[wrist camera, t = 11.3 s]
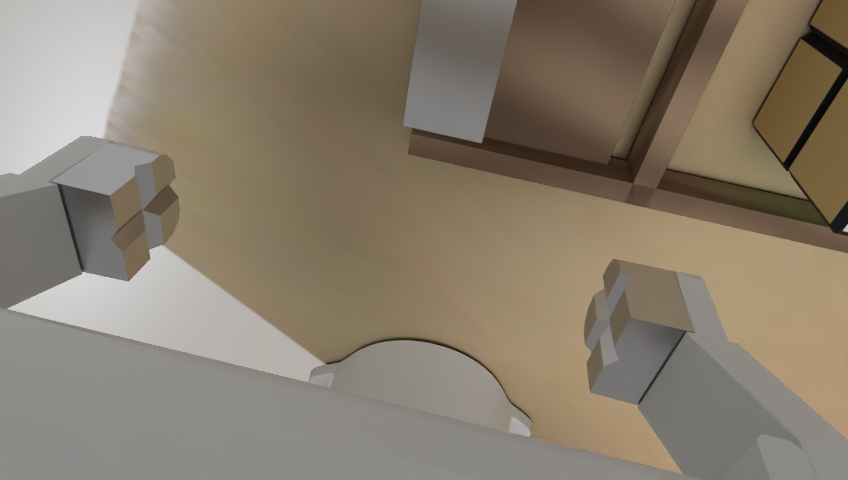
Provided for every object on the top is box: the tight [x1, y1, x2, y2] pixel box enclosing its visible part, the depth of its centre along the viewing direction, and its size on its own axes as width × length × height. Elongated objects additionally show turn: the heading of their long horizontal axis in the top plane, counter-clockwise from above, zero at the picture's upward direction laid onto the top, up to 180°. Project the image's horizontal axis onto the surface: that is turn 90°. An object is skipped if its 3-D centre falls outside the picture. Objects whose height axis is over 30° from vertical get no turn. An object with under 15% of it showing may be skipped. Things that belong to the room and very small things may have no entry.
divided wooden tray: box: [403, 0, 848, 253], centre depth 22 cm, size 16×28×10 cm, turn 80°
